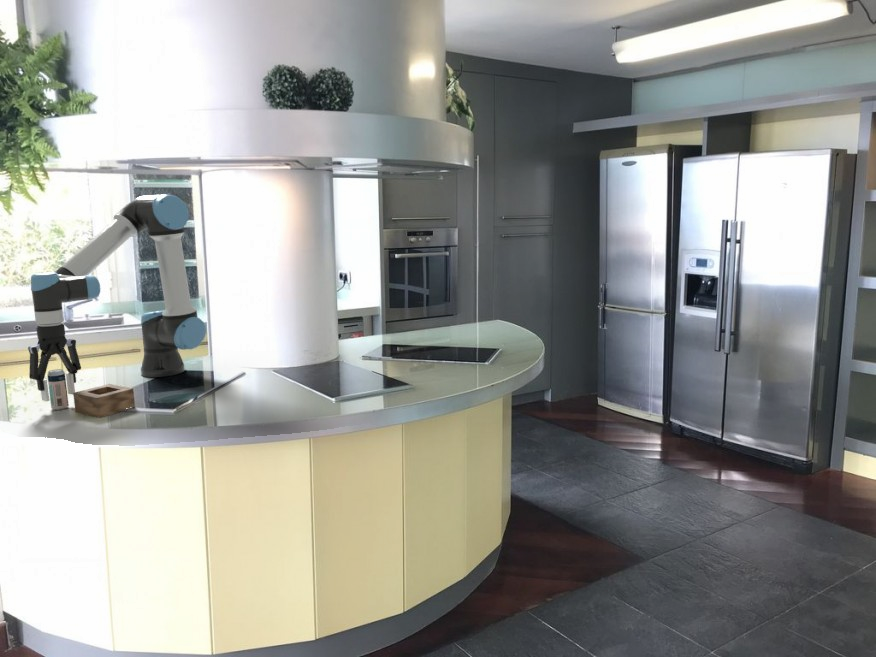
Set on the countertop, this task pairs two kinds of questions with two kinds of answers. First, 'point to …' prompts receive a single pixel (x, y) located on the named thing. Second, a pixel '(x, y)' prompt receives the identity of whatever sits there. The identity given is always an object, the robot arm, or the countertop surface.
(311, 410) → the countertop surface
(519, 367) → the countertop surface
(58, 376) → the beer can
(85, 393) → the wooden box
